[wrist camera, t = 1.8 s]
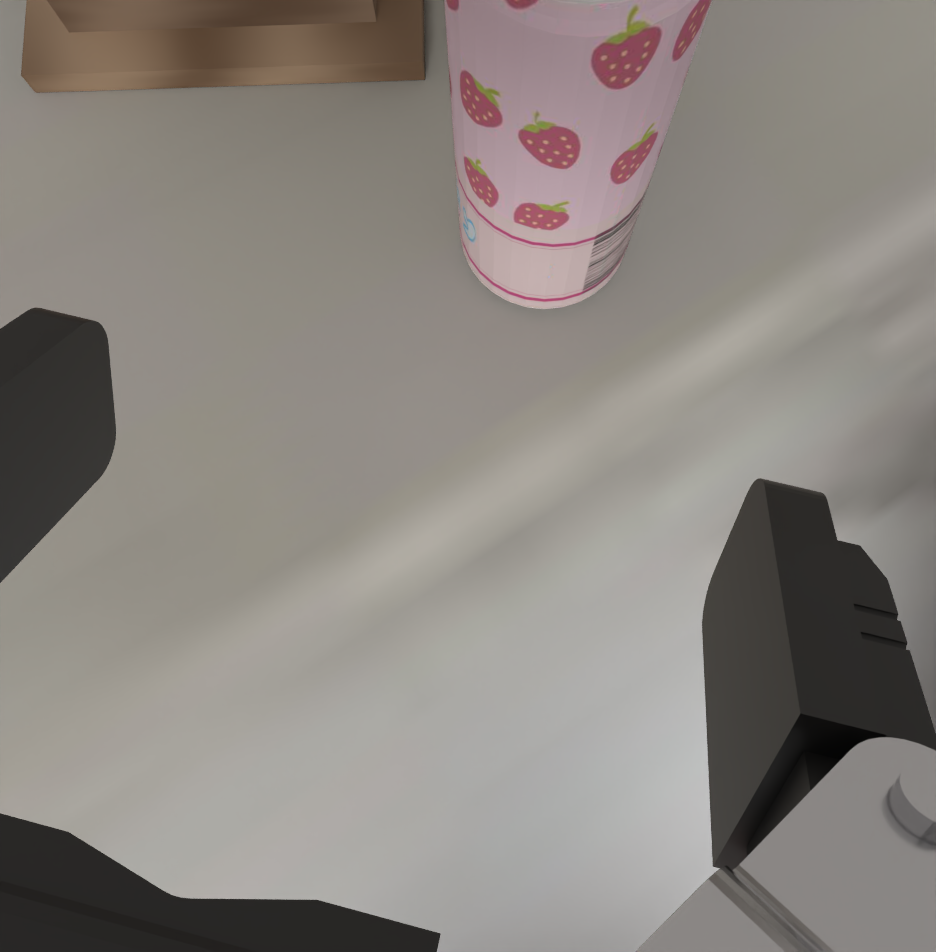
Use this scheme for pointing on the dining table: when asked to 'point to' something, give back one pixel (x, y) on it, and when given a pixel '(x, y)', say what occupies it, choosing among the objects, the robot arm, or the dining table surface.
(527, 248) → the beverage can
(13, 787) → the dining table surface
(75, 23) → the can socket
